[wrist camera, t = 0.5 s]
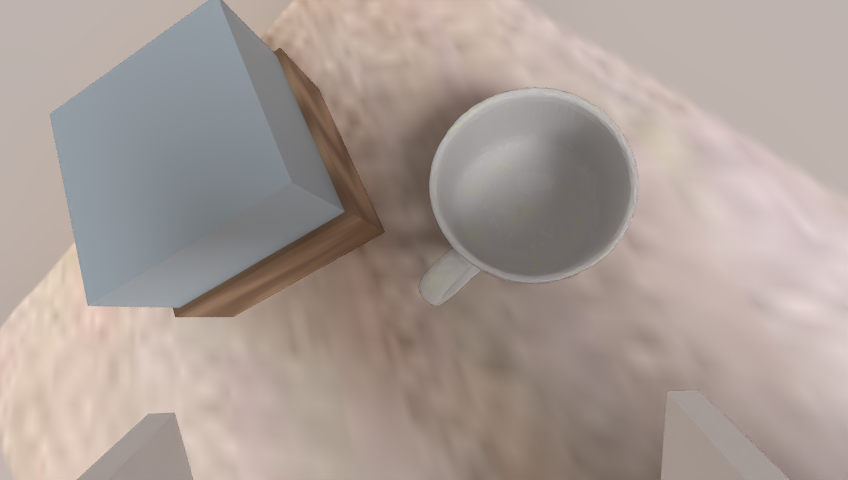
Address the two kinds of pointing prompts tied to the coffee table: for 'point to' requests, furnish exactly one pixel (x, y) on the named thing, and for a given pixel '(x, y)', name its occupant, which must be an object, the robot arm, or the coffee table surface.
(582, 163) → the teacup
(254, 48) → the top block
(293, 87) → the base block
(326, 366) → the coffee table surface
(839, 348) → the coffee table surface
